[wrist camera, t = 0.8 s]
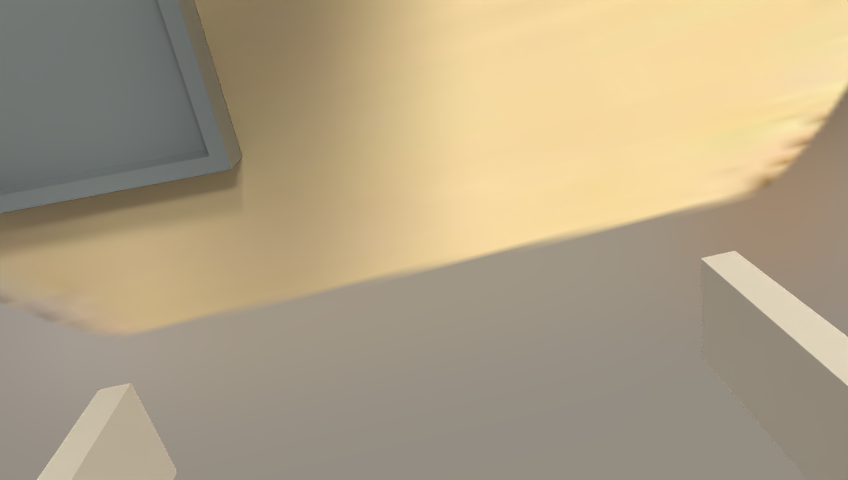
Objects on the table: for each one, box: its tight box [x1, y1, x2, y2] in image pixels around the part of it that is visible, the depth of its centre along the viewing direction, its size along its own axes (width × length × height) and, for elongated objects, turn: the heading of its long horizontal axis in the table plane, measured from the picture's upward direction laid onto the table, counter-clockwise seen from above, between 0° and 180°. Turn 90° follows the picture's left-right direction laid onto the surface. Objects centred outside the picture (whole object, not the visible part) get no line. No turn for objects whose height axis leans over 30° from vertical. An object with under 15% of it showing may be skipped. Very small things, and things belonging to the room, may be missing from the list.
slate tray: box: [0, 0, 242, 213], centre depth 32 cm, size 17×17×3 cm
